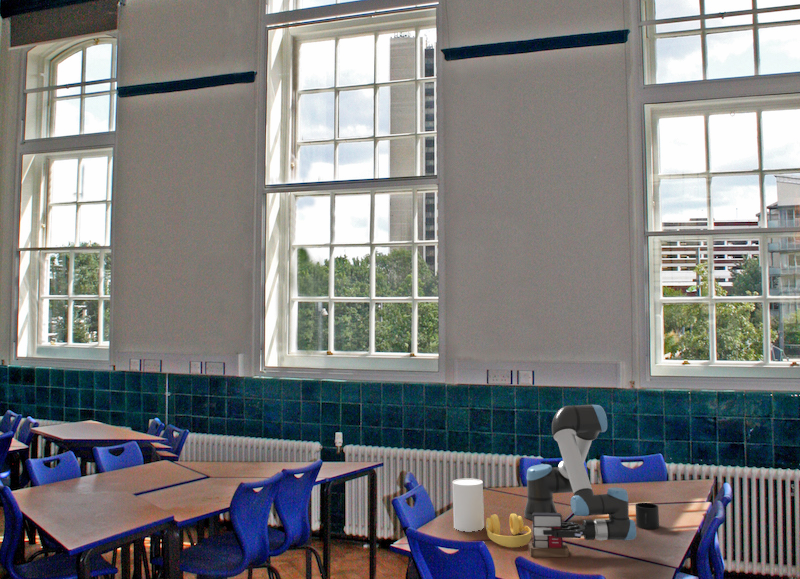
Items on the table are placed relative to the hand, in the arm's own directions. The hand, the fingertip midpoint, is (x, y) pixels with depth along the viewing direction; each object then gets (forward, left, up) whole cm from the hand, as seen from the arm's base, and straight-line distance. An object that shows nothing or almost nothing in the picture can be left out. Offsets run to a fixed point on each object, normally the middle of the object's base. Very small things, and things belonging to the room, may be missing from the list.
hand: (533, 529), depth 254 cm
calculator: (0, +5, -9) cm, 11 cm away
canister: (-34, -25, -9) cm, 43 cm away
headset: (-18, -9, -9) cm, 22 cm away
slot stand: (0, +5, -9) cm, 10 cm away
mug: (-34, +53, -9) cm, 64 cm away
